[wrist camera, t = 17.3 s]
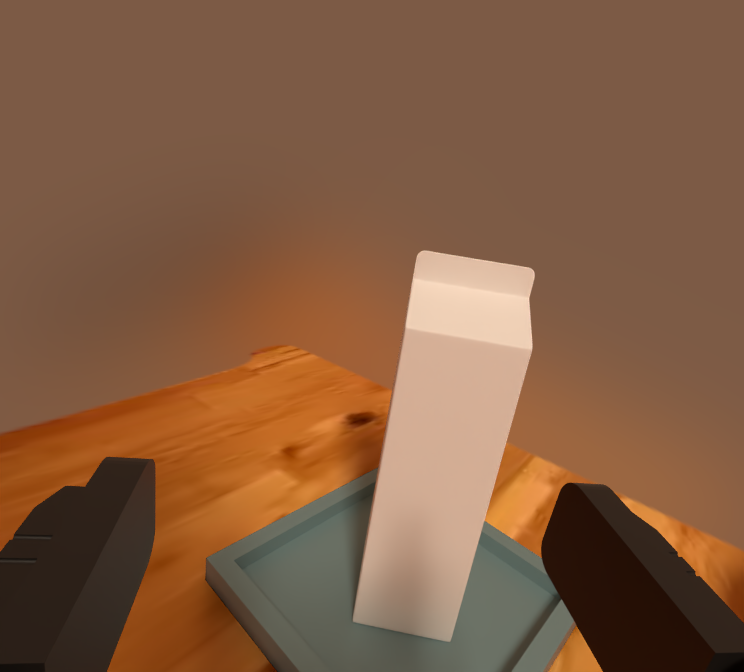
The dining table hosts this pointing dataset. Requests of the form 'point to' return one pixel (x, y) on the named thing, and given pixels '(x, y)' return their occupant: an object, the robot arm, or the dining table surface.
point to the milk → (443, 439)
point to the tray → (339, 588)
